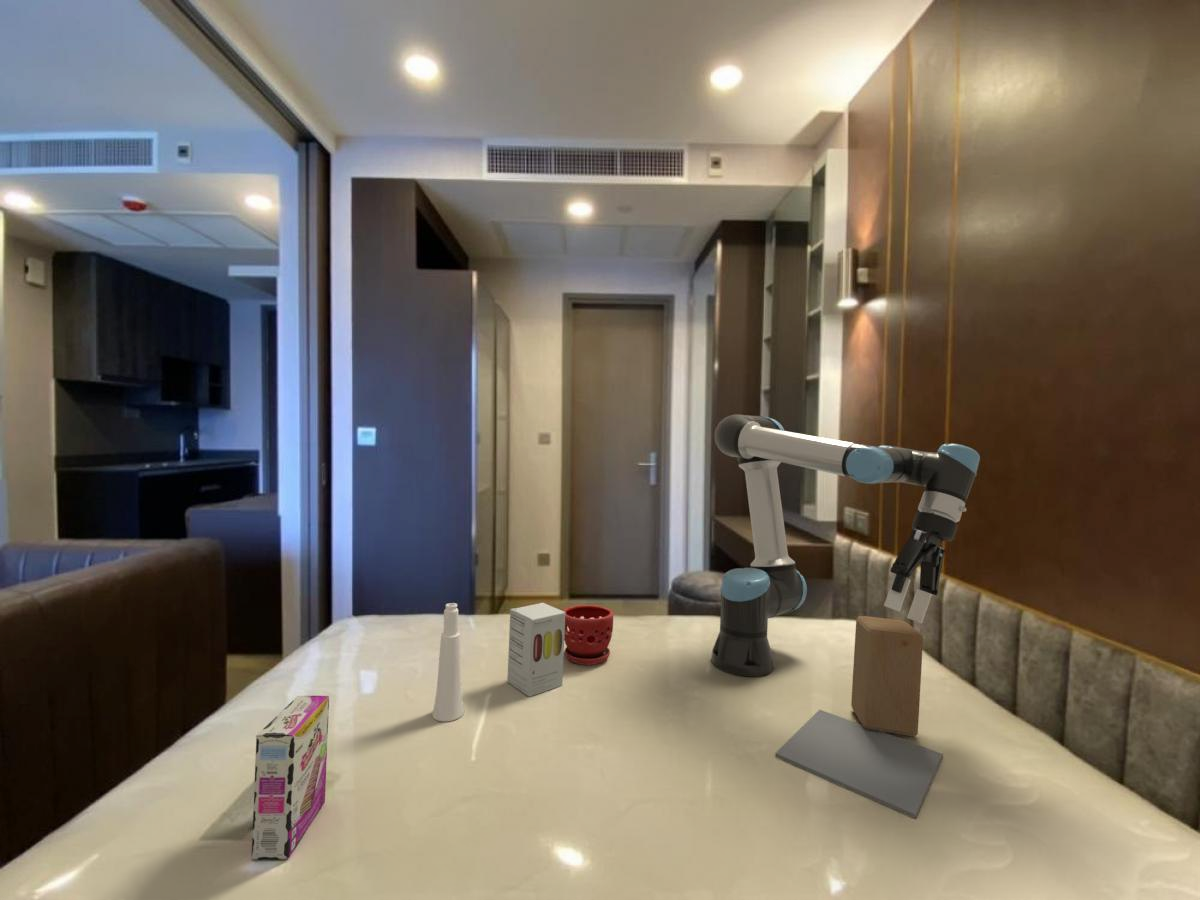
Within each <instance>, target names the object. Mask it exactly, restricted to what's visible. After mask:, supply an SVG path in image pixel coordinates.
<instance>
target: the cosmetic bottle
mask: <svg viewBox="0 0 1200 900" xmlns="http://www.w3.org/2000/svg"><path fill="white" fill-rule="evenodd" d="M457 607H458V603H455V602H451V603H446V604H445V609H444V610H443V632H442V633H441V635H440V643H439V645H440V646H439V657H438V669H437V683H436V692H435V693H436V694H435V699H434V705H433V710H432V717H433V719H434V720H436V721H438V722H441V723H442V722H445V723H446V722H453V721H456V720H458V719H460V718H461V717H463V715H464V713H465V710H464V703H463V701H464V700H463V693H462V675H461V674H462V672H461V671H462V670H461V669H462V668H461V663H462V662H461V659H462V658H461V633H460V631H459V609H458V608H457Z"/></svg>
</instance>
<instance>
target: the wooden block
mask: <svg viewBox="0 0 1200 900" xmlns="http://www.w3.org/2000/svg"><path fill="white" fill-rule="evenodd" d="M854 637H855V638H854V651H853V652H854V653H853V667H852V668H853V670H852V686H851V701H850V702H851V703H850V705H851V708H852V711H853V712H854V714H855V716H856V717H857V718H858V720H859V722H860V724H861V725H863V727H865V728H867V729H871V730H877V731H881V732H884V733H891V734H897V735H903V736H904V735H905V736H910V737H917V735H918V733H919V722H920V721H919V716H920V704H921V703H920V702H921V686H922V685H921V682H922V663H923V650H924V649H923V646H924V637H923V635H922V633H921V632H919V631H918V630H917V629H916V628H914V627H913V626H912V625H911V624H909V623H908V622H906V621H904V620H899V619H891V618H883V617H875V616H865V615H861V616H860V615H859V616H857V617H856V621H855V635H854Z"/></svg>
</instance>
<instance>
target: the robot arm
mask: <svg viewBox="0 0 1200 900" xmlns="http://www.w3.org/2000/svg"><path fill="white" fill-rule="evenodd" d="M714 442H715V444H716V446H717V449H719V450H720V452H721V453H723V454H725V455H726V456H729V457H730V458H731V457H734V458H737V463H738V467H739V468H740V469H741V470H743V471H744V476H745V483H746V484H745V485H746V491H747V492H746V493H747V500H748V508H749V516H750V525H751V532H752V541H753V548H754V557H755V558H754V560H753V561H752V562H750V567H744V568H741V567H738V568H737V567H736V568H733V569H730V570H728V571H726V572H725V573H724V574H723V575H722V580H721V585H720V613H719V615H720V616H719V618H720V619H719V621H720V623H719V632H718V634H717V637H716V639H715V642H714V645H713V648H712V652H711V662H712V664H713V666H715V667H716V668H718V669H719V670H722V671H723V672H727V673H729V674H731V675H737V676H743V677H763V676H766V674H767V675H769V674H770V672H771V673H772V672H773V671H772V670H774V656H773V653H772V649H771V645H770V642H769V639H768V625H769V623H768V622H769V619H771V618H774V617H778V616H780V615H786V614H789V613H792V612H793V611H795V610H797V609H799V608H800V607H801V606H802V605H803V604H804V603H805V600H806V597H807V592H808V587H807V586H808V585H807V584H806V583H807V582H806V580H805V578H804V576H803V575H802V574H801V573H800V571H798V569H796V568H797V567H796V561H795V560H793V558H791V557H790V556H789V552H788V545H787V544H788V543H787V538H786V530H785V529H786V528H785V522H784V515H783V514H784V512H783V507H782V505H783V504H782V499H781V493H780V483H779V476H778V467H779V466H780V464H781V463H784V464H788V465H793V466H797V467H801V468H802V467H803V468H806V469H811V470H814V471H815V470H816V471H820V472H824V473H828V474H833V475H836V476H837V475H838V476H843V477H845V478H846V477H847V478H849V479H853V480H854V481H856V482H858V483H861V484H867V485H877V484H883V483H886V484H887V483H889V484H890V483H904V484H909V485H915V486H920V487H925V488H924V490H923V494H922V496H921V499H920V502H919V503H918V507H917V510H918V511H919V512H916V514H915V515H914V516H915V517H914V518H913V522H912V524H911V528H912V530H911V532H910V535H909V537H908V539H907V541H906V542H905V544H904V546H902V547H903V548H902V549H901V550H900V552H899V554H898V556H897V557H896V559H895V560H894V562H893V564H892V566H891V568H890V573H891V574H894V575H893V579H892V582H891V585H890V588H889V590H888V592H887V596H886V599H885V601H884V604H883V606H884V607H886V608H889V609H891V610H894V611H896V612H899V613H901V610H902V607H903V603H904V601H905V597H906V595H907V592H908V589H909V586H910V583H911V581H912V580H911V579H910V577H911V576H912V574H914V572H915V571H916V569H918V567H919V566H920V575H919V588H916V589H915V590H916V591H915V594H914V597H913V600H912V602H911V605H910V608H909V611H908V614H907V617H906V619H908V620H912V621H914V622H916V623H919V624H923V622H924V619H925V616H926V613H927V611H928V607H929V605H930V601H931V599H932V596H933V595H934V596H936V597H937V596H938V594H939V591H938V590H939V583H940V579H941V572H942V567H943V560H944V556H945V553H946V548H945V547H941V545H942V542H952V541H954V539H955V536H956V533H957V530H958V527H959V525H958V522H960V521H961V518H962V515H963V514H962V513H963V512H967V507H966V504H967V499H968V498H969V494H970V491H971V489H972V486H973V483H974V481H975V478H976V476H977V474H978V473H977V471H978V468H979V464H980V460H981V456H980V454H979V452H978V451H977V450H975V449H973V448H972V447H969V446H965V445H964V444H958V443H944V444H942V445H940V447H939V448H938V449H937V452H934V451H933V452H932V451H931V452H930V451H921V450H918V449H917V450H916V449H912V448H911V449H910V448H907V447H905V448H904V447H900V446H896V445H884V444H883V445H879V446H875V445H869V444H861V443H855V442H851V441H844V440H839V439H833V438H827V437H820V436H815V435H809V434H805V433H799V432H793V431H789V430H788V431H787V430H785V428H784V427H783V425H782V424H781V423H780V422H779V421H777V419H774V418H771V417H768V416H764V415H746V414H737V413H736V414H731V415H728V416H726V417H724V418H723V419H722V420H721V421H720V422H719V423H718V424H717V426H716V428H715V431H714Z"/></svg>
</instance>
